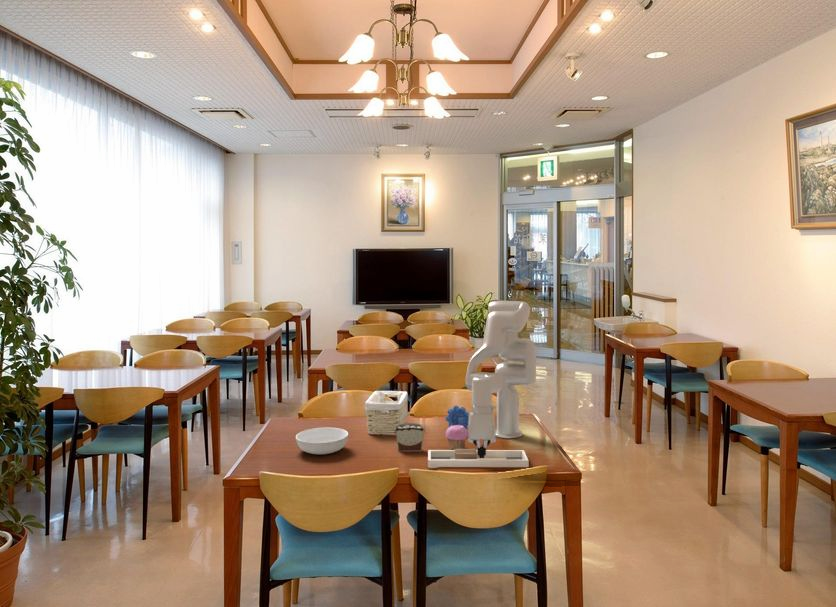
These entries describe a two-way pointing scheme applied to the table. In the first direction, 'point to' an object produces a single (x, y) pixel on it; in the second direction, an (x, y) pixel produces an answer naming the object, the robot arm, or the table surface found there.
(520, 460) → the white tray
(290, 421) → the table surface
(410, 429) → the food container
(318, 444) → the serving bowl
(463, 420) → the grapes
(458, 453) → the walnut block
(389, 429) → the storage basket
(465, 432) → the cupcake
